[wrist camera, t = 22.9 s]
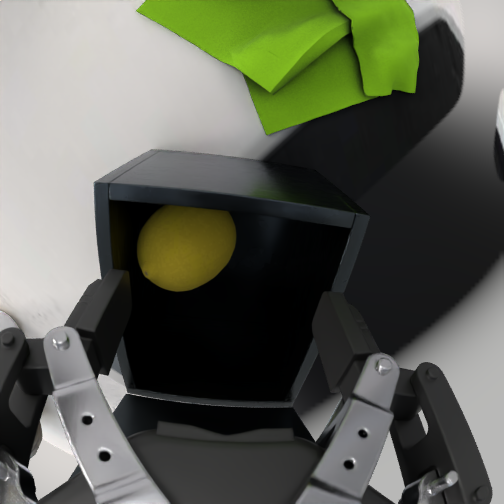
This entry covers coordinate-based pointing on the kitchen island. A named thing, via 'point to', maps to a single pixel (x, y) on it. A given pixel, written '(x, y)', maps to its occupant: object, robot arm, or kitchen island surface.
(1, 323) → the silver bottle
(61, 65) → the kitchen island surface
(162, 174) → the box
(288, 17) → the cloth
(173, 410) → the caddy lid
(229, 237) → the lemon
